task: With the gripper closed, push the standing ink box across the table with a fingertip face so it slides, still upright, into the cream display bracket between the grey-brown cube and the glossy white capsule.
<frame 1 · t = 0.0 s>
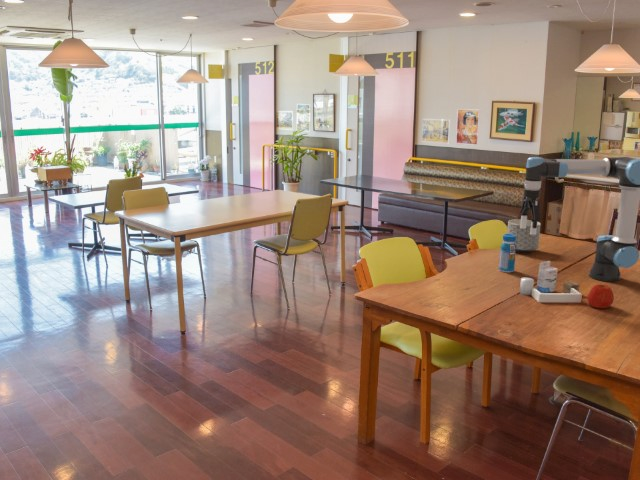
hand: (527, 231, 303), 28 cm above the table, fingers open, 13 cm apart
planter: (521, 251, 377), on the table
ink box: (545, 291, 300), on the table
display bracket: (554, 298, 289), on the table
beverage bottle: (506, 270, 334), on the table
glossy white capsule: (526, 292, 297), on the table
grey-brown cube: (570, 293, 298), on the table
apple: (599, 306, 280), on the table
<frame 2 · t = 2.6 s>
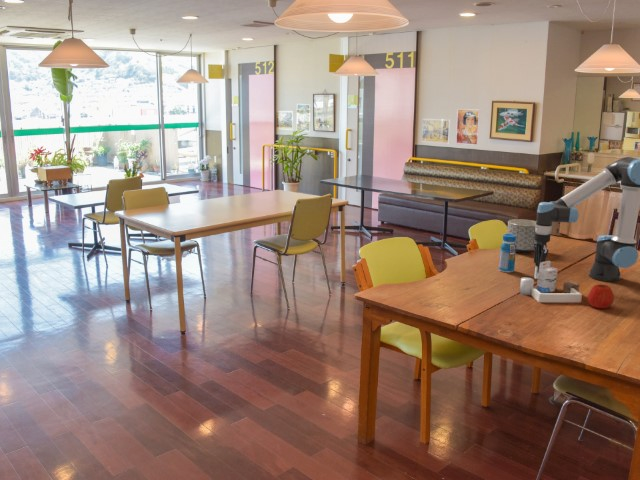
hand: (537, 278, 310), 3 cm above the table, fingers closed
nothing on the table moved.
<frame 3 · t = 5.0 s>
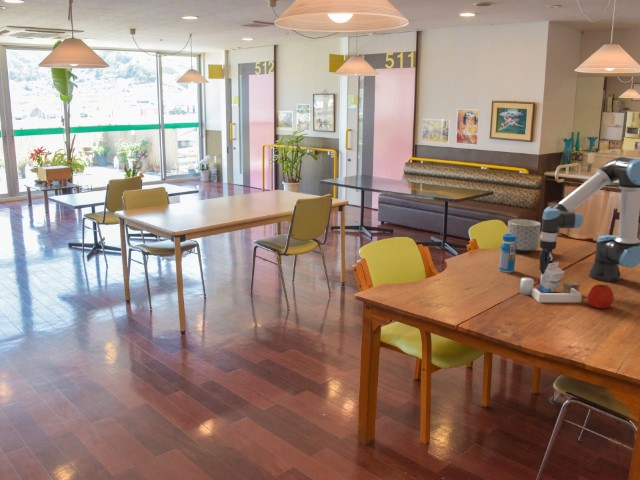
hand: (543, 285, 303), 2 cm above the table, fingers closed
ink box: (546, 290, 299), point 1 cm above the table, touching gripper, hand
everything else where it was.
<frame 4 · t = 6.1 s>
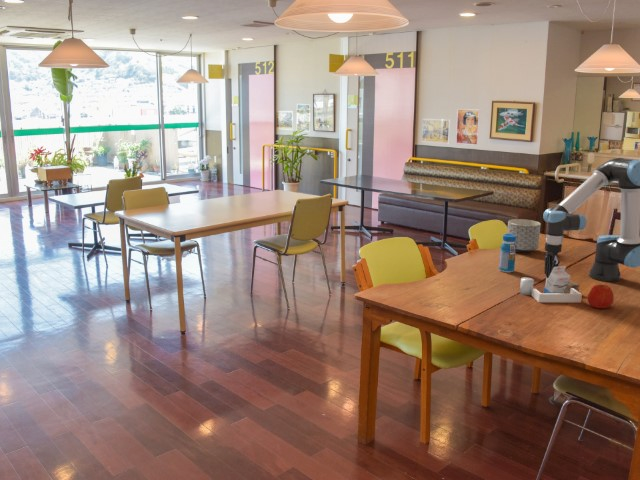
hand: (548, 289, 297), 2 cm above the table, fingers closed
ink box: (552, 294, 294), point 1 cm above the table, touching gripper, hand
everything else where it was.
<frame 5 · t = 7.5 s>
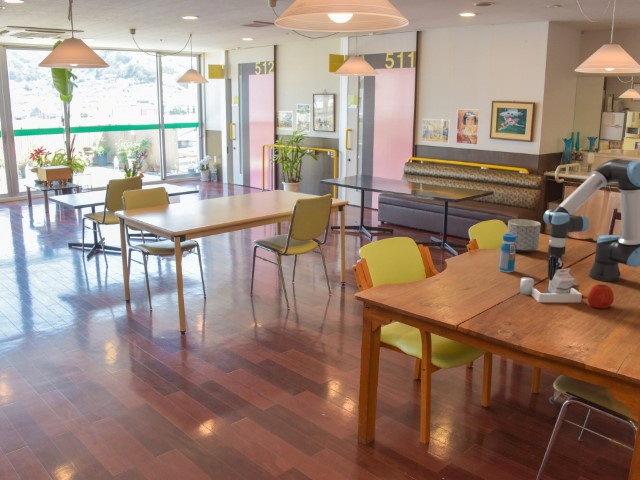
hand: (551, 292, 293), 2 cm above the table, fingers closed
ink box: (555, 296, 290), point 1 cm above the table, touching gripper, hand
everything else where it was.
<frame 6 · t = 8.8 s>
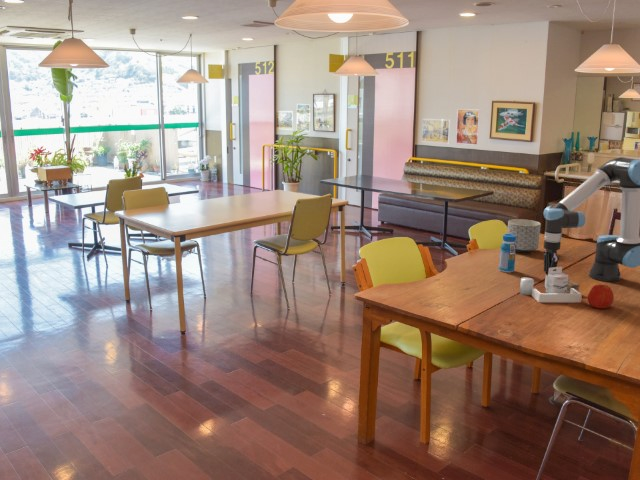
hand: (547, 287, 299), 2 cm above the table, fingers closed
ink box: (555, 298, 290), on the table
everything else where it was.
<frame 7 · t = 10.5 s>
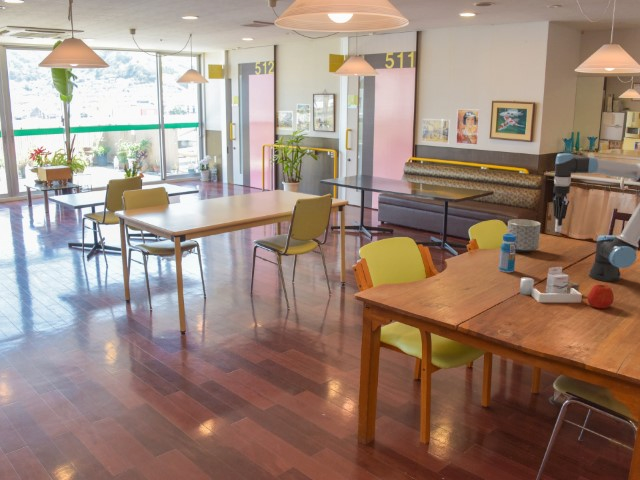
hand: (558, 231, 306), 27 cm above the table, fingers closed
nothing on the table moved.
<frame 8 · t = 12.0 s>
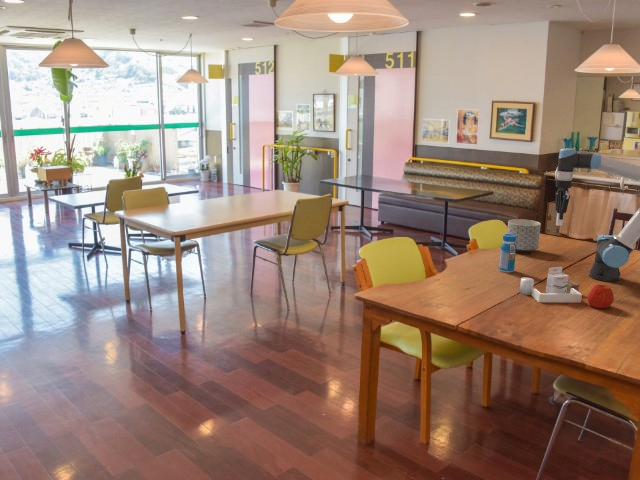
hand: (559, 225, 311), 29 cm above the table, fingers closed
nothing on the table moved.
at the end: ink box inside the target area (0.6 cm from its centre), on the table; ink box tilted 0° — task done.
